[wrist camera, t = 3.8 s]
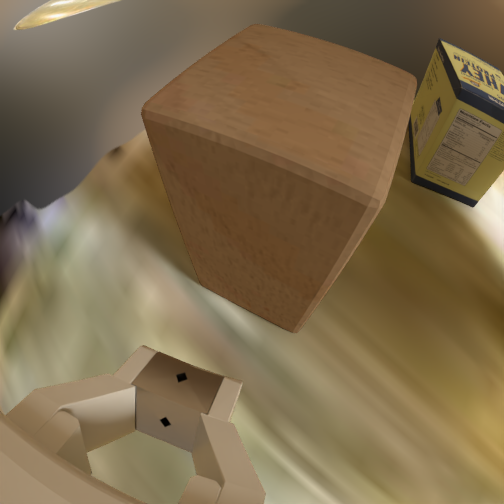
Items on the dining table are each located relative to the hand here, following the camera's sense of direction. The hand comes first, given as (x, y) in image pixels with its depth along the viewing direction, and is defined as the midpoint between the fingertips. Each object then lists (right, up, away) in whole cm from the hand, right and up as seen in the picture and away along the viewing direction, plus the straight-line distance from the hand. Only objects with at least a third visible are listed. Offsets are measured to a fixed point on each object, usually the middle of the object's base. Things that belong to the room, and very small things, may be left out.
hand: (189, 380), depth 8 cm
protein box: (+29, +17, +30) cm, 45 cm away
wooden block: (+4, +2, +22) cm, 22 cm away
